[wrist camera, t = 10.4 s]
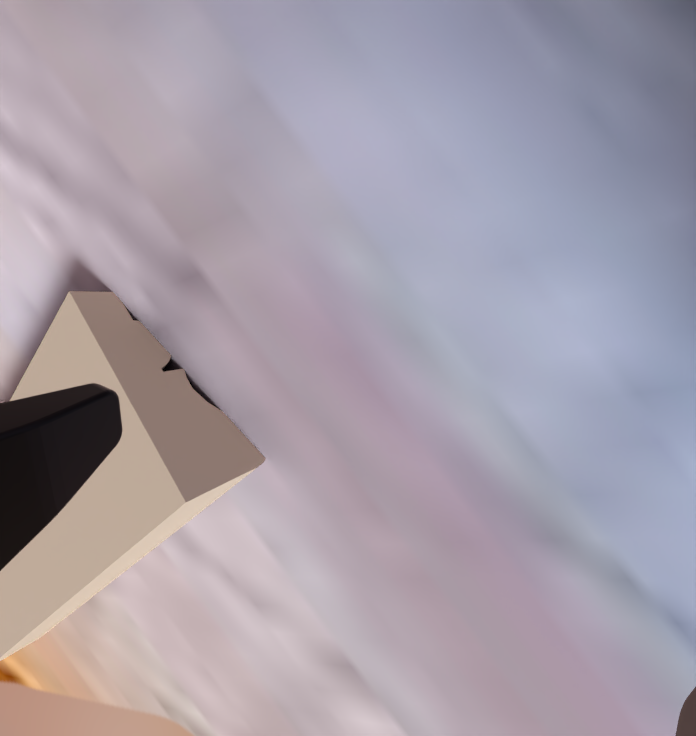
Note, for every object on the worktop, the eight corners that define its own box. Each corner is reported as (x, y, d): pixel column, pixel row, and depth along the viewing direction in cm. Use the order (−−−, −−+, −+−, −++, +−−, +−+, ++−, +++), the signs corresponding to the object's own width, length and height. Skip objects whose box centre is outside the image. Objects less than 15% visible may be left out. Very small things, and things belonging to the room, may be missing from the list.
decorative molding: (-5, 520, 52) (50, 631, 50) (-70, 547, 48) (-13, 668, 47) (166, 275, 30) (273, 459, 28) (69, 291, 26) (186, 502, 25)
